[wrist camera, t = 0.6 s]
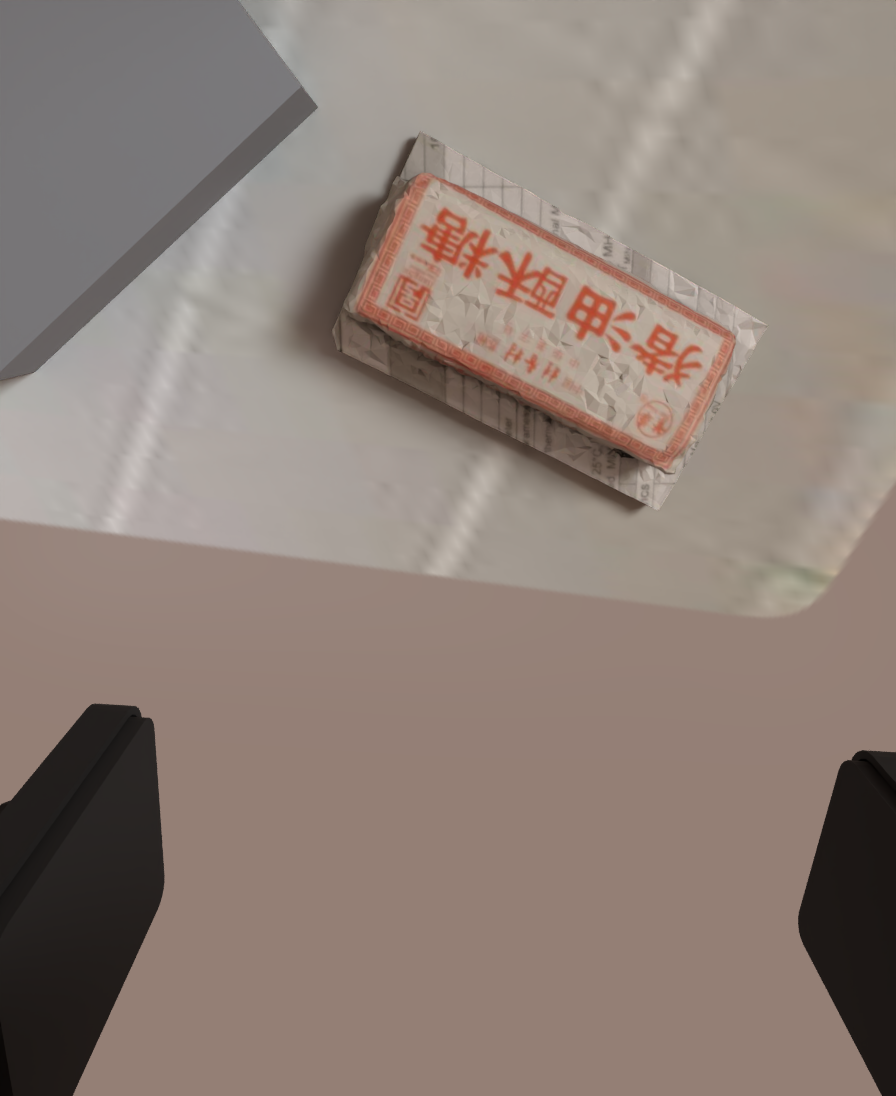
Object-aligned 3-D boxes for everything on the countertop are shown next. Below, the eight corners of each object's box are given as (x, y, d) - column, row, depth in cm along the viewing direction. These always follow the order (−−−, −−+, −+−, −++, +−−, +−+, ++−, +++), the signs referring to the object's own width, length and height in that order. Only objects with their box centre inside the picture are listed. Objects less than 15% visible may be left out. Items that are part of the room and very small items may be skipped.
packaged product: (311, 352, 33) (414, 111, 30) (328, 342, 37) (419, 133, 34) (677, 534, 35) (806, 330, 32) (651, 504, 40) (762, 323, 37)
